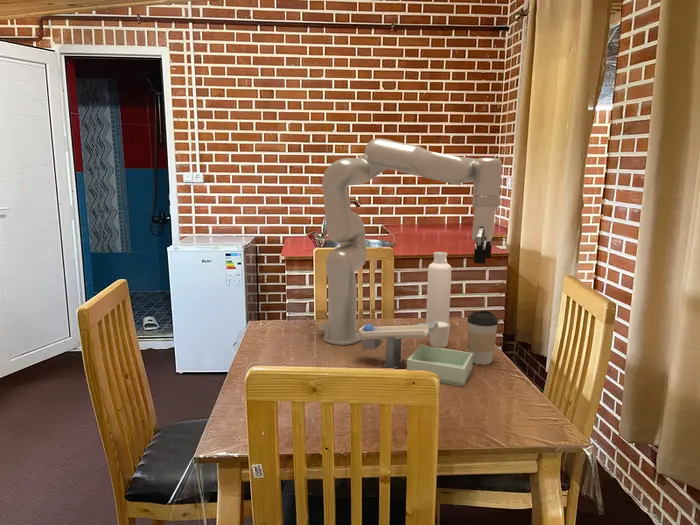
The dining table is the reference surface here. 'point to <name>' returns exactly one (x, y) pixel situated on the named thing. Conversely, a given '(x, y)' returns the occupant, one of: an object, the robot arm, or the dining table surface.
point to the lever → (394, 333)
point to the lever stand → (393, 353)
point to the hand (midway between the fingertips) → (482, 260)
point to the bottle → (438, 289)
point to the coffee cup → (482, 336)
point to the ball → (368, 327)
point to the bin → (443, 363)
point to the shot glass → (440, 334)
